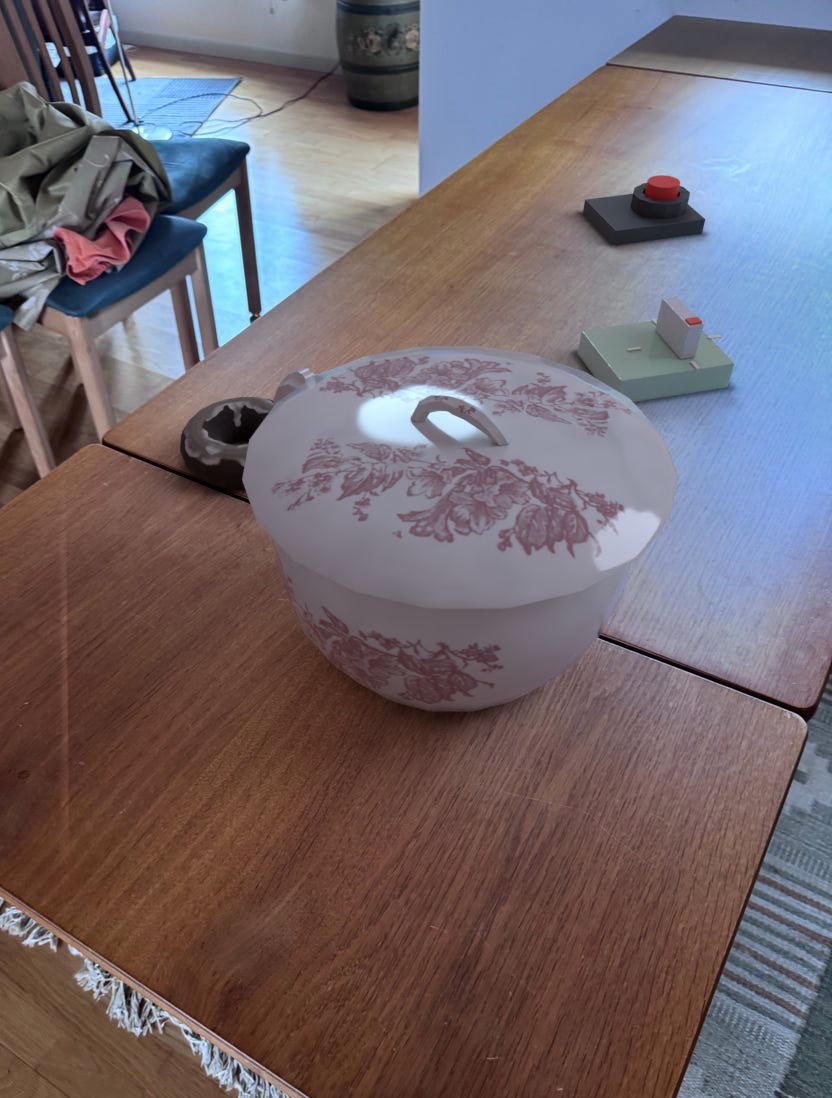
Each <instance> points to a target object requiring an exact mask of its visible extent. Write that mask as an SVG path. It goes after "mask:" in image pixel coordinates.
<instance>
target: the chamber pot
mask: <svg viewBox="0 0 832 1098" xmlns="http://www.w3.org/2000/svg"><path fill="white" fill-rule="evenodd" d="M272 400H273V401H274V407H273V408H272V410H271V411H270V412H269V414H268V415H267V416H266V418H265V419H264V421H263V422H262V423H261V425H260V426H259V427H258V429H257V430H256V431H255V433H254V434H253V436H252V437H251V438H250V439H248V440H249V441H248V443H249V445H248V450H247V456H246V461H245V467H244V472H243V478H242V481H243V483H244V486H245V489H244V490H245V492H246V496H247V499H248V501H249V503H250V506H251V510H252V512H253V513H252V514H253V515H254V518H255V521H256V523H257V524H258V525H259V526H260V527H261V528H262V529H263V530H264V531H265V532H266V533H267V534H268V535H269V536H270V537H271V538H272V540H273V547H274V554H275V561H276V564H277V568H278V570H279V573H280V576H281V578H282V582H283V585H284V588H285V590H286V593H287V595H288V598H289V599H288V600H289V601H290V603H291V607H292V608H293V611H294V613H295V615H296V618H297V620H298V623H299V625H300V628H301V630H302V632H303V634H304V635H305V636H306V638H307V639H309V641H310V642H311V643H312V644H313V645H314V646H315V647H316V648H317V650H318V651H319V652H320V653H321V654H322V655H323V656H324V657H325V658H326V659H327V661H329V663H330V664H331V665H332V666H333V667H335V668H336V669H338V670H339V671H341V672H342V673H343V674H345V675H347V677H349V678H351V679H352V680H354V681H355V682H356V683H358V684H360V685H361V686H363V687H365V688H366V689H368V690H370V691H371V692H373V693H375V694H377V695H379V696H380V697H382V698H384V699H385V700H388V701H389V702H393V703H396V704H400V705H404V706H408V707H411V708H414V709H415V708H416V709H419V710H424V711H427V712H475V711H479V710H485V709H488V708H491V707H496V706H500V705H504V704H508V703H511V702H513V701H516V700H517V699H519V698H521V697H523V696H525V695H527V694H529V693H531V692H533V691H535V690H537V689H538V688H540V687H541V686H543V685H545V684H547V683H548V682H550V681H552V680H553V679H555V678H557V677H558V676H560V675H562V674H563V673H565V672H566V671H568V670H570V669H572V668H573V667H574V666H577V665H578V663H579V661H580V660H581V659H582V658H583V657H584V655H585V654H586V653H588V650H589V649H590V648H591V647H592V645H593V644H594V643H595V642H596V640H597V639H598V638H599V637H600V635H601V634H602V633H603V631H604V629H605V628H606V626H607V624H608V623H609V620H610V619H611V618H612V616H613V614H614V612H615V610H616V609H617V608H618V606H619V604H620V602H621V601H622V600H623V596H624V592H625V588H626V585H627V581H628V578H629V575H630V571H631V565H632V563H634V562H636V561H638V560H639V558H640V557H641V556H642V555H643V554H644V552H646V550H647V549H648V548H649V546H650V545H651V544H652V543H653V541H654V540H655V539H656V538H657V537H658V535H659V534H660V533H661V532H662V530H663V529H664V528H665V527H666V525H667V524H668V523H669V522H670V521H671V518H672V517H671V516H672V512H673V506H674V502H675V501H674V500H675V495H676V492H677V491H676V490H677V486H678V480H679V475H678V473H677V470H676V467H675V464H674V461H673V459H672V454H671V453H670V450H669V447H668V444H667V441H666V438H665V435H663V434H662V432H661V431H660V429H658V427H656V426H655V424H654V423H653V422H652V421H651V420H650V419H649V418H648V417H647V416H646V415H645V413H644V412H643V411H642V410H641V409H640V408H639V407H638V405H637V404H635V402H632V401H631V399H630V398H628V397H626V396H625V395H623V394H621V393H620V392H618V391H616V390H615V389H613V388H611V387H610V386H608V385H606V384H605V383H603V382H601V381H600V380H598V379H596V378H595V376H594V375H591V374H590V373H588V372H586V371H584V370H581V369H578V368H575V367H572V366H569V365H566V364H564V363H561V362H557V361H555V360H551V359H549V358H546V357H543V356H540V355H537V354H534V353H528V352H521V351H515V350H509V349H501V348H494V347H488V346H482V345H418V346H413V347H407V348H403V349H397V350H391V351H386V352H380V353H375V354H370V355H364V356H362V357H359V358H357V359H354V360H351V361H348V362H346V363H344V364H341V365H338V366H336V367H333V368H331V369H328V370H326V371H323V372H319V373H314V372H313V371H312V370H311V369H309V368H308V367H303V368H299V369H296V370H294V371H291V372H289V373H288V374H287V375H286V376H285V377H284V378H283V379H282V380H281V382H280V383H279V385H278V386H277V388H276V391H275V394H274V397H273V399H272Z"/></svg>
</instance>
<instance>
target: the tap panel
mask: <svg viewBox="0 0 832 1098" xmlns="http://www.w3.org/2000/svg"><path fill="white" fill-rule="evenodd" d="M656 323H657V319H656V318H655V317H653V318H651V319H650V320H648V321H641V322H635V323H629V324H620V325H614V326H606V327H600V328H593V329H587V330H581V332H580V339H579V344H578V350H577V356H579V358H580V359H581V361H582V362H583V363H584V365H585V366H586V367H587V368H588V370H589V371H590V372H591V374H592V376H593V377H595V378H596V379H598V380H600V381H601V382H603V383H605V384H606V385H608V386H610V387H611V388H613V389H615V390H616V391H618V392H620V393H621V394H623V395H625V396H626V397H628V398H630V399H631V401H632V402H633V403H635V402H642V401H649V400H653V399H659V398H667V397H674V396H681V395H686V394H693V393H698V392H699V393H700V392H705V391H712V390H719V389H724V388H728V386H729V383H730V379H731V376H732V374H733V371H734V367H735V362H734V361H733V360H732V359H731V358H730V357H729V356H728V355H727V354H726V353H725V352H724V351H723V349H722V348H720V347H719V346H718V345H717V344H716V343H715V342H714V340H716V339H722V337H723V336H722V334H716V335H708V334H707V333H705V331H704V330H702V334H701V337H700V341H699V345H698V348H697V352H696V356H695V357H692V358H685V359H680V358H679V357H678V356H677V354H676V353H675V352H674V351H673V350H672V349H671V348H670V346H669V345H668V344H667V343H666V342H665V341H664V340H663V339H662V337H661V336H660V335H659V334H658V333H657V332H656V331H655V328H656Z"/></svg>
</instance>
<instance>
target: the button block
mask: <svg viewBox="0 0 832 1098" xmlns="http://www.w3.org/2000/svg"><path fill="white" fill-rule="evenodd" d="M646 186H647V182H644V183H641V184H639V185H636V186H635V187H634V188H633V192H632V193H626V194H619V195H618V194H617V195H610V196H602V197H594V198H586V199H584V203H583V210H582V215H583V216H584V217H585V218H586V219H587V221H589V222H590V224H591V225H592V226H594V228H596V229H597V231H598V232H599V233H600V234H601V235H602V236H603V237H604V238H605V239H606V240H607V241H608V242H609V243H610V244H611V245H612V246H613V247H614V246H623V245H629V244H637V243H644V242H652V241H658V240H666V239H675V238H681V237H689V236H697V235H702V234H703V230H704V227H705V223H706V218H705V217H704V216H703V215H701V214H700V213H699V212H698V211H697V210H695V209H694V208H693V207H692V206H691V205H689V201H690V195H691V193H690V191H689V190H688V189H687V188H685V187H684V186H682V185H680V186H679V191H678V195H677V198H675V199H671V200H656V199H652V198H649V197H647V196H645V191H646Z"/></svg>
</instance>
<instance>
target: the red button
mask: <svg viewBox="0 0 832 1098" xmlns="http://www.w3.org/2000/svg"><path fill="white" fill-rule="evenodd" d="M646 183H647V186H646V191H645V196H647V197H649V198H652V199H656V200H671V199H675V198H677V195H678V191H679V186H681V181H680V179H679V178H676V177H674V176H671V175H665V174H663V175H662V174H661V175H653V176H651V177H648V179H647V181H646Z"/></svg>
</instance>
